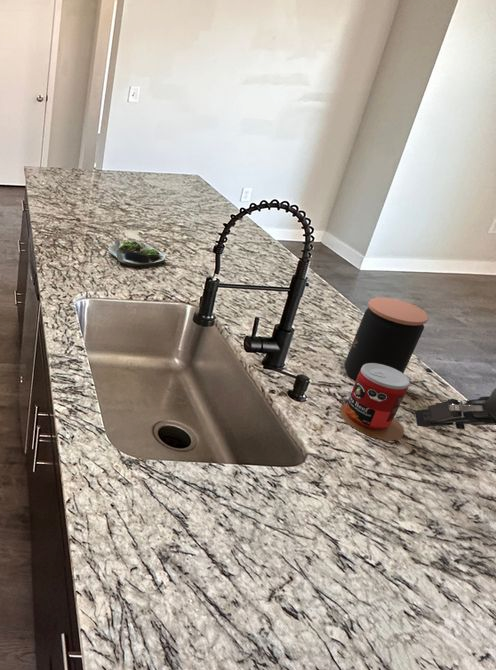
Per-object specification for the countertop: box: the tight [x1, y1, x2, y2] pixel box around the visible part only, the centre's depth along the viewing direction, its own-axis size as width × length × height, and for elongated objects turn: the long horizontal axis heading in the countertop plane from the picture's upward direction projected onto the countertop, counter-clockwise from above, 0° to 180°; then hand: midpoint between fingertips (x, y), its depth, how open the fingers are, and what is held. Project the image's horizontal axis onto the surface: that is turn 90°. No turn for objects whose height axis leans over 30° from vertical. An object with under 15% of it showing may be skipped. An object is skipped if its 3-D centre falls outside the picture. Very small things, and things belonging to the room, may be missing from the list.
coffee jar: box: [344, 296, 430, 382], centre depth 119 cm, size 11×11×18 cm
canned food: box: [345, 363, 411, 430], centre depth 107 cm, size 8×8×11 cm
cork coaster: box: [339, 403, 405, 441], centre depth 109 cm, size 11×11×1 cm
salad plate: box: [108, 239, 166, 269], centre depth 179 cm, size 19×18×5 cm
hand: (420, 418), depth 96 cm, fingers closed
